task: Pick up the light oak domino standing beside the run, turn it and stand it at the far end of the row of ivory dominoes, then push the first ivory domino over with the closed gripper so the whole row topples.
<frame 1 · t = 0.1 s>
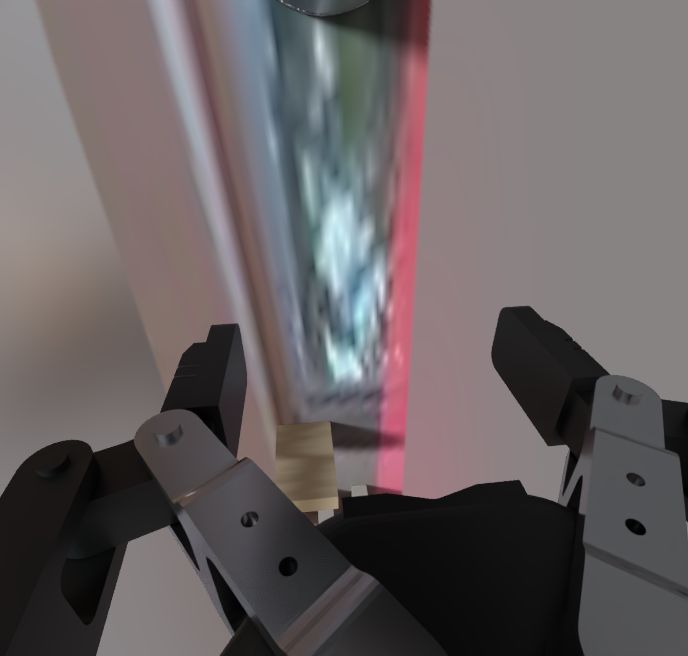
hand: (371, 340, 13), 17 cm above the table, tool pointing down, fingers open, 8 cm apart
domino 1: (358, 499, 46), on the table
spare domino: (304, 429, 39), on the table
domino 2: (324, 502, 46), on the table
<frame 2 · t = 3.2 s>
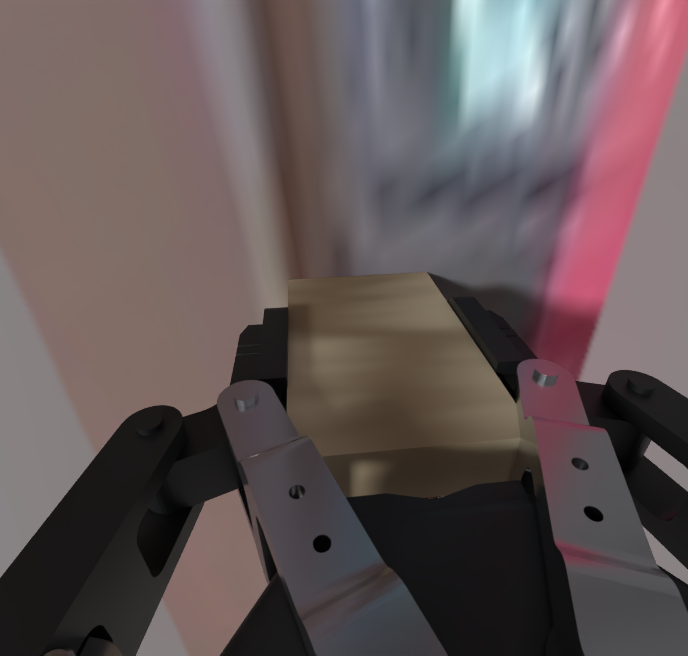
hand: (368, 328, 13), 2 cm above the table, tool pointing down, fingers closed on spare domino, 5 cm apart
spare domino: (358, 295, 15), on the table, touching gripper
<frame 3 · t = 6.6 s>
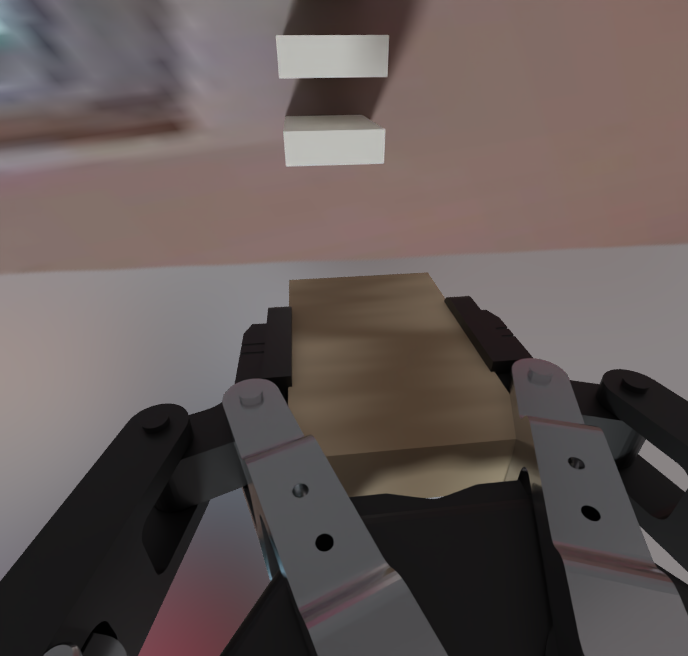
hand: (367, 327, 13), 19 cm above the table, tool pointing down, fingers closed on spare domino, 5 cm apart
domino 3: (324, 128, 27), on the table
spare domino: (359, 296, 15), point 17 cm above the table, touching gripper
domino 2: (322, 60, 25), on the table
when the fingers open (3 cm above the table, at t = 9.9 s): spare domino stays where it is, on the table.
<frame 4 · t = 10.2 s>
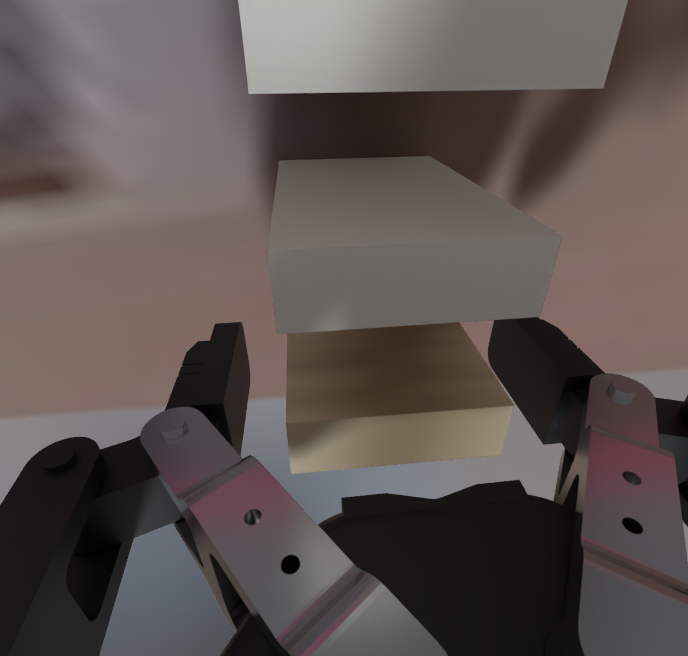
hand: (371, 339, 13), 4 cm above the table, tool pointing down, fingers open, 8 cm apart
domino 3: (355, 183, 14), on the table
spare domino: (354, 284, 16), on the table
domino 2: (356, 48, 12), on the table
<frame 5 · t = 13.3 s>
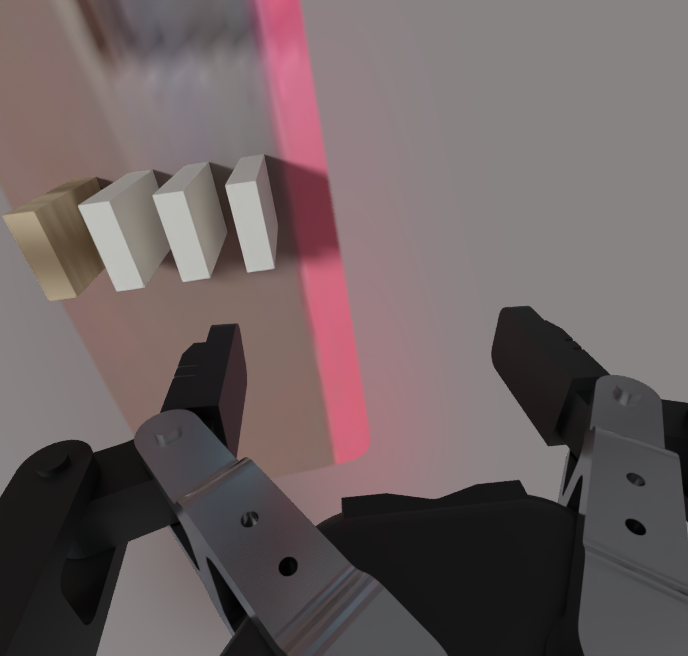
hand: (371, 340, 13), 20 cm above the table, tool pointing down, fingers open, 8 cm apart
domino 3: (153, 207, 29), on the table
domino 1: (260, 193, 30), on the table
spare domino: (99, 215, 29), on the table
domino 2: (207, 200, 29), on the table
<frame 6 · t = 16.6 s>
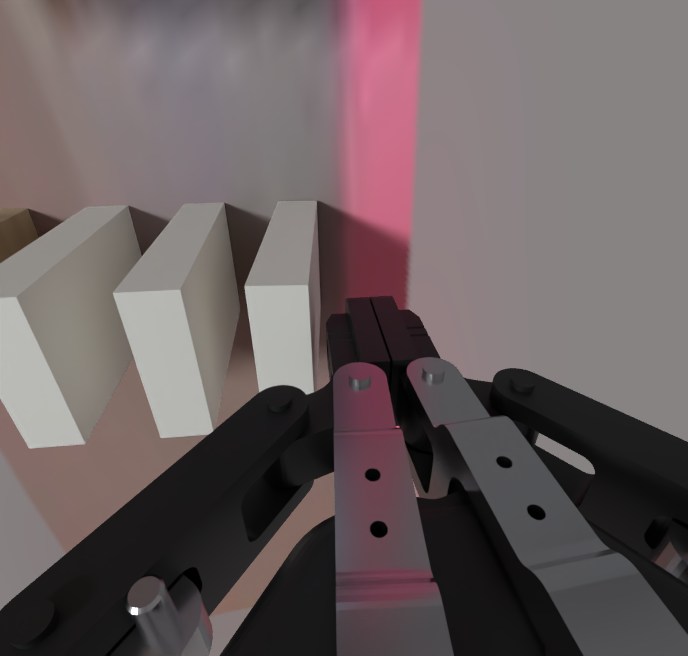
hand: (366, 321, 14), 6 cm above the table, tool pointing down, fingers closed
domino 3: (124, 264, 18), on the table
domino 1: (300, 257, 19), on the table, touching gripper
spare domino: (30, 267, 18), on the table
domino 2: (214, 260, 18), on the table
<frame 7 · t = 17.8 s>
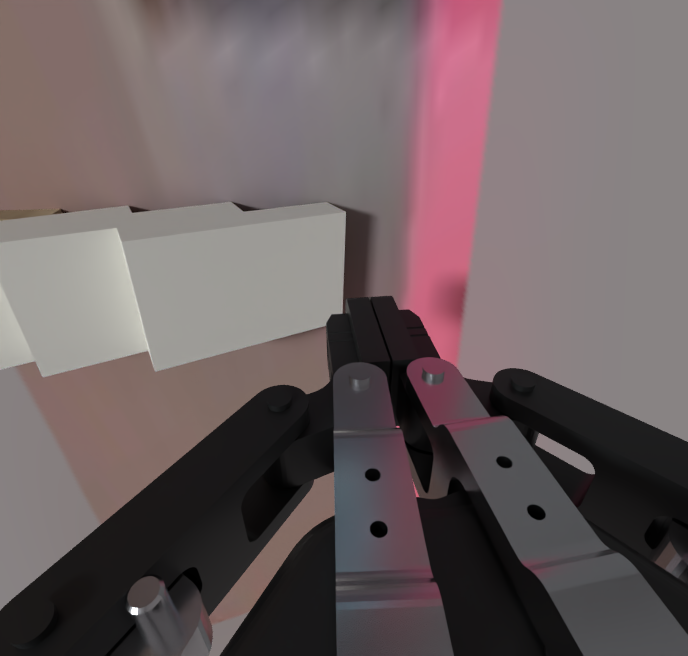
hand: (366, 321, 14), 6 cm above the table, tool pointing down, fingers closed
domino 3: (146, 270, 17), point 1 cm above the table, tilted 66°, touching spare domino
domino 1: (334, 264, 18), point 1 cm above the table, tilted 66°, touching domino 2
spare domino: (77, 271, 17), on the table, tilted 90°, touching domino 3
domino 2: (243, 265, 18), point 1 cm above the table, tilted 66°, touching domino 1
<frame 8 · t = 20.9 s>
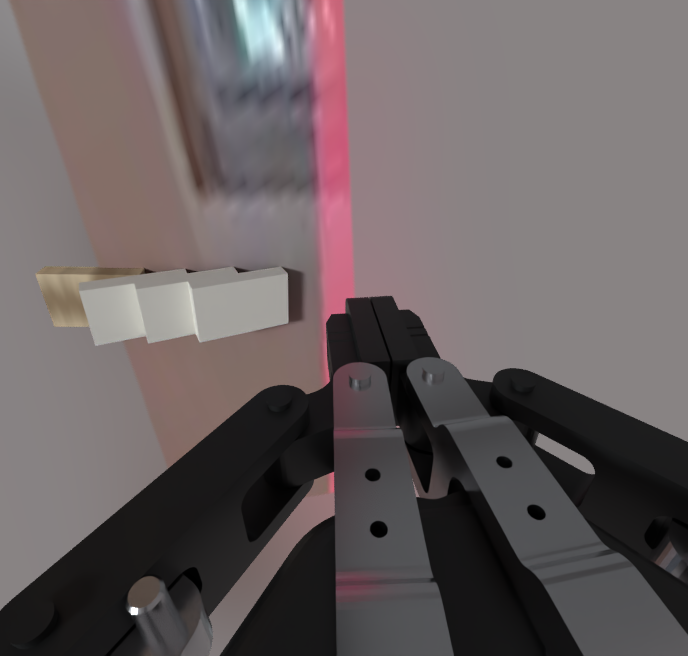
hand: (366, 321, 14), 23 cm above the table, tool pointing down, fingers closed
domino 3: (190, 298, 37), point 1 cm above the table, tilted 68°, touching domino 2, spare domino
domino 1: (284, 295, 38), point 1 cm above the table, tilted 67°, touching domino 2
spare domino: (147, 297, 36), point 1 cm above the table, tilted 90°, touching domino 3
domino 2: (238, 295, 37), point 1 cm above the table, tilted 67°, touching domino 1, domino 3
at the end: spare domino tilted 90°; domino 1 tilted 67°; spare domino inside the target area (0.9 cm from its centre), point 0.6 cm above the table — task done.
